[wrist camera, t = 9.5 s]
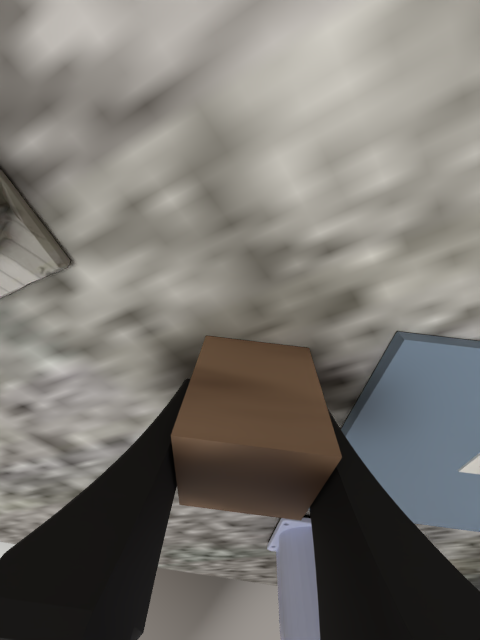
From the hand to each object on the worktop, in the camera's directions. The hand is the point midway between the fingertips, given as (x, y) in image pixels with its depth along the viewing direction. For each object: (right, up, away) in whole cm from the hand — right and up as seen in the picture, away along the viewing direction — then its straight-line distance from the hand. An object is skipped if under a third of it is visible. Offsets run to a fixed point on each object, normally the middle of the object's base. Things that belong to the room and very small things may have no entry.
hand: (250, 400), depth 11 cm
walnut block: (0, +1, +1) cm, 1 cm away
